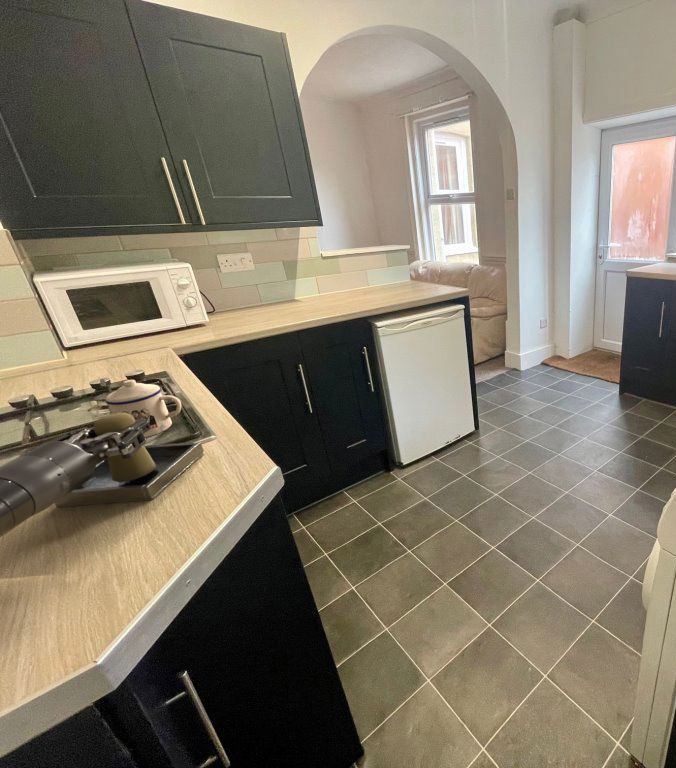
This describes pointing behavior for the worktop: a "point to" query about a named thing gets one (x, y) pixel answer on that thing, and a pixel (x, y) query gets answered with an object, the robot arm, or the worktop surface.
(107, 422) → the cork
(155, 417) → the teacup with lid
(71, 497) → the dark grey square tray
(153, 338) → the worktop surface
